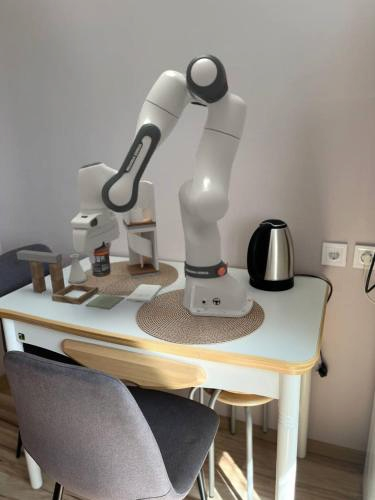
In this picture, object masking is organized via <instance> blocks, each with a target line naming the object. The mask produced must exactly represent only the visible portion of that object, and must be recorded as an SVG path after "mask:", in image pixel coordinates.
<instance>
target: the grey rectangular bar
mask: <svg viewBox="0 0 375 500" xmlns="http://www.w3.org/2000/svg"><path fill="white" fill-rule="evenodd" d="M16 257H17V260H20V261H21V260H23V261H28V262H29V261H38V262H42V263H48V264H49V263H59V262H63V256H62V253H58V252H46V251H38V250H37V251H36V250H28V249H22V250H19V251H17V252H16Z"/></svg>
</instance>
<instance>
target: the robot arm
mask: <svg viewBox="0 0 375 500" xmlns="http://www.w3.org/2000/svg"><path fill="white" fill-rule="evenodd" d="M228 82H229V81H228V75H227V71H226V69H225V66H224V64H223V63H222V61H221V59H219V58H218V57H216V56H215V55H214V54H213V55H212V54H209V53H203V54H202V53H201V54H198V55H196V56H195V57H193V58H192V59H191V60H190V62H189V63H188V65H187V66H186V71H185V73H181V72H179V71H177V70H170V69H167V70H165V71H163V72H162V73H161V74H160V75H159V77H158V78H157V79H156V81H155V83H154V84H153V86H152V87H151V88H150V91H149V92H148V94H147V96H146V98H145V100H144V102H143V104H142V107H141V109H140V112H139V114H138V119H137V122H136V126H135V127H136V128H135V133H134V137H133V141H132V144H131V146H130V148H129V150H128V152H127V154H126V156H125V158H124V160H123V162H122V164H121V166H120V168H119V170H117V169H114V168H112V167H109V166H107V165H106V164H105V163H104V162H100V161H98V162H92V163H88V164H85V165H82V166H81V167H80V168H79V170H78V173H77V188H78V194H79V198H80V206H79V207H80V208H79V209H80V211H79V212H78V214H77V215H76V216H75V217H73V219H72V220H70V226H71V228H73V230H72V232H71V233H72V244H73V245H72V246H73V250H74V251H75V254H81V255H82V254H83V255H87V257H88V258H89V259H88V260H89V263H90V264H91V263H95V262H97V257H95V256H94V249H96V248H98V247H100V246H102V244H103V243H102V242H103V241H104V243H105V246H107V247H108V249H109V256H110V255H111V247H112V242H113V241H114V240H117V239H119V238H120V226H119V222H118V218H117V217H116V213H120V214H122V213H123V212H127V211H129V210H131V209H132V208H133V207H134V206H135V204H136V202H137V199H138V192H139V182H140V181H141V179H142V177H143V174H144V172H145V171H146V168H147V167H148V164H149V162H150V161H151V158H153V155H154V154H155V152H156V151H157V150H158V149H159V147H160V146H161V145H163V143H164V142H165V141H166V140H167V138H169V136H170V135H171V134H172V132H173V131H174V129H175V127H176V126H177V125H178V122H179V120H180V119H181V116H182V114H183V112H184V111H185V109H186V107H187V106H188V105H189V104H191V105H195V106H196V105H197V106H201V107H206V108H207V116H206V121H205V124H204V127H203V130H202V133H201V137H200V140H199V144H198V146H197V149H196V153H195V164H194V165H195V166H194V173H193V178H191V179H188V180H186V181H184V182H183V183H182V184H181V185H180V187H179V189H178V194H177V195H178V196H177V197H178V201H179V210H180V216H181V217H180V218H181V222H182V223H181V224H182V229H183V237H184V251H185V253H184V254H185V255H184V257H185V259H184V265H183V268H184V269H183V272H184V277H185V286H184V293H183V298H182V302H181V303H182V307H183V308H185V309H186V310H188V311H189V313H190V314H191V315H192V316H199V317H200V316H202V317H203V316H204V317H222V318H223V317H225V318H243V317H244V316H247V315H248V314H249V313H250V312H251V311H252V310H253V307H254V300H253V298H252V297H251V296H247V292H246V288H245V285H244V284H243V282H241V281H240V280H238V279H237V278H236V277H234V276H233V275H232V274H230V273H229V272H228V266H229V262H228V261H227V262H226V263H225V262H224V261H223V260H222V240H221V239H222V238H221V233H220V229H219V224H218V221H220V220H221V219H223V218H224V216H226V214H227V213H228V210H229V205H230V203H229V202H230V201H229V192H230V191H229V189H230V182H231V176H232V175H231V174H232V169H233V165H234V161H235V158H236V155H237V152H238V150H239V145H240V142H241V140H242V136H243V133H244V129H245V124H246V119H247V112H248V107H247V103H246V102H245V101H244V99H243V98H242V97H240V96H239V95H237V94H234V93H232V92H230V91H229V83H228Z"/></svg>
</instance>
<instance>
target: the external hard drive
mask: <svg viewBox="0 0 375 500" xmlns="http://www.w3.org/2000/svg"><path fill="white" fill-rule="evenodd" d="M162 289H163V288H162V285H158V284H141V283H140V284H139V285H138V286H137V288H135V289H134V290H133V291H132V292H131V294H129V295H128V296H127V297H126V298H125V299H126V302H132V303H144V304H150V303H151V302H152V301H153V299H155V297H156V296H157V295H158V293H159V292H160V291H161V290H162Z"/></svg>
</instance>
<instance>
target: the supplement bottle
mask: <svg viewBox="0 0 375 500" xmlns="http://www.w3.org/2000/svg"><path fill="white" fill-rule="evenodd" d="M102 243H103V244H102V246H100V247H98V248H96V249H94V256H95V257H97V262H95V263H90V269H91V274H92V276H93V277H95V278H104V277H107V276H109V275H110V274H111V272H112V271H111V260H110V255H109V249H108V247H107V246H105V243H104V241H103V242H102Z"/></svg>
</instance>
